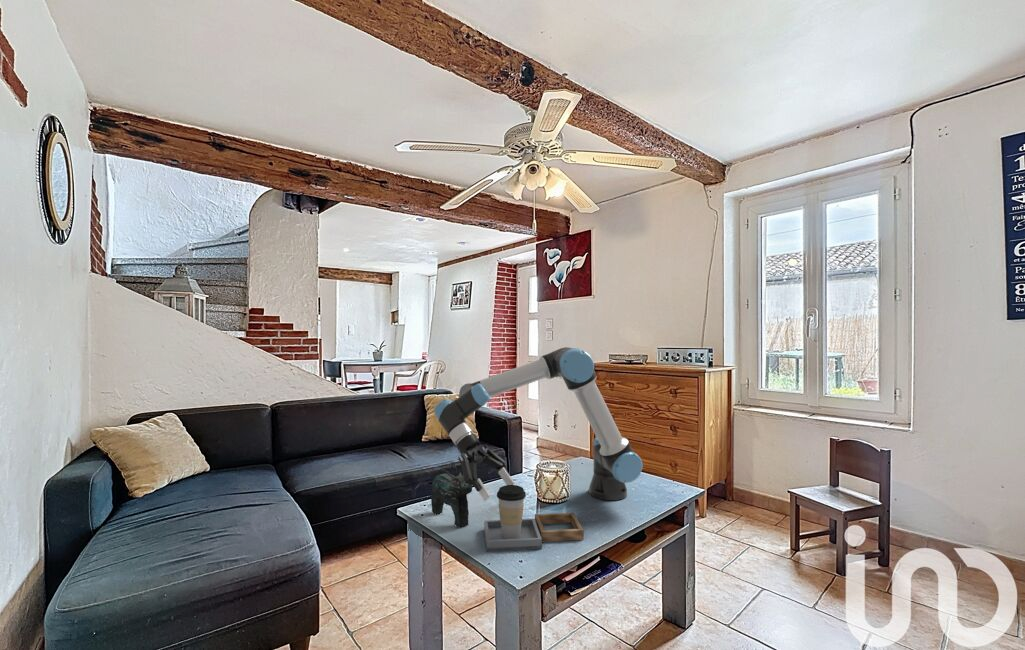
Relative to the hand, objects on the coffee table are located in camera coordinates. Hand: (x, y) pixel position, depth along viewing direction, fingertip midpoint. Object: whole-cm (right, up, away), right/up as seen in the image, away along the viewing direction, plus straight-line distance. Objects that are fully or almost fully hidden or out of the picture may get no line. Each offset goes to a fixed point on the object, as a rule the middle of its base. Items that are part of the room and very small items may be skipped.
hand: (500, 491), depth 150 cm
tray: (+4, -14, -2) cm, 15 cm away
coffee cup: (+4, -14, -2) cm, 14 cm away
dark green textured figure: (-18, -14, +12) cm, 26 cm away
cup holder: (+19, -14, +4) cm, 24 cm away
